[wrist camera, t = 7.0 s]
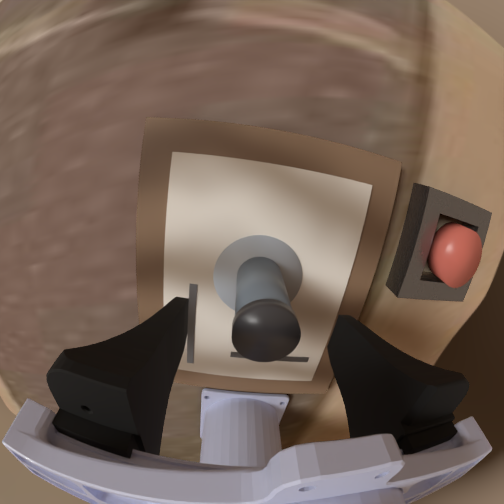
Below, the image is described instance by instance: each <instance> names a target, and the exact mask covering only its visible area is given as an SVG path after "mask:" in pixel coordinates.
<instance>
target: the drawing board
mask: <svg viewBox="0 0 504 504" xmlns="http://www.w3.org/2000/svg"><path fill="white" fill-rule="evenodd" d="M401 166H402V162H399V161H396V160H393V159H390V158H387V157H384V156H381V155H378V154H375V153H372V152H368V151H365V150H361V149H358V148H354V147H351V146H347V145H343V144H340V143H336V142H332V141H328V140H324V139H319V138H315V137H311V136H306V135H301V134H296V133H291V132H286V131H281V130H275V129H269V128H263V127H257V126H250V125H243V124H235V123H227V122H218V121H208V120H196V119H180V118H155V117H146V122H145V128H144V136H143V143H142V152H141V161H140V172H139V184H138V199H137V222H136V277H137V299H138V315H139V325H140V324H141V323H143V322H144V321H146V320H147V319H148V318H150V317H151V316H153V315H154V314H155V313H156V312H158V311H159V310H160V309H161V308H163V307H164V306H165V305H166V304H167V303H169V302H170V301H171V300H172V299H173V298H175V297H182V298H189V307H188V334H187V339H186V343H185V348H184V352H183V355H182V358H181V361H180V364H179V367H178V370H177V372H176V375H175V378H174V381H173V382H175V383H181V384H187V385H194V386H201V387H208V388H216V389H225V390H234V391H246V392H260V393H282V394H325V393H326V391H327V389H328V387H329V385H330V383H331V381H332V379H333V377H334V373H333V370H332V367H331V364H330V360H329V355H328V350H327V345H328V343H329V340H330V337H331V335H332V332H333V329H334V327H335V324H336V321H337V318H338V315H350V316H352V317H353V318H355V319H356V320H358V319H359V316H360V314H361V311H362V308H363V306H364V303H365V300H366V297H367V295H368V292H369V289H370V286H371V283H372V280H373V277H374V274H375V271H376V268H377V264H378V261H379V258H380V255H381V251H382V248H383V244H384V241H385V237H386V233H387V230H388V226H389V222H390V218H391V214H392V209H393V205H394V201H395V196H396V192H397V187H398V182H399V177H400V171H401ZM253 257H266V258H269V259H271V260H273V261H274V262H275V263H276V264H277V265H278V266H279V268H280V270H281V273H282V277H283V280H284V283H285V287H286V290H287V293H288V297H289V300H290V303H291V307H292V309H293V311H294V312H295V314H296V316H297V319H298V323H299V326H300V329H301V338H300V341H299V344H298V345H297V347H296V348H295V350H294V351H293V352H291V353H290V354H289V355H287V356H286V357H284V358H282V359H280V360H277V361H273V362H256V361H252V360H249V359H247V358H245V357H243V356H242V355H240V354H239V353H238V352H237V351H236V349H235V348H234V346H233V343H232V338H231V337H232V322H233V319H234V316H235V301H236V281H237V272H238V269H239V268H240V266H241V265H242V264H243V263H244V262H245V261H246V260H248V259H250V258H253Z"/></svg>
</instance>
